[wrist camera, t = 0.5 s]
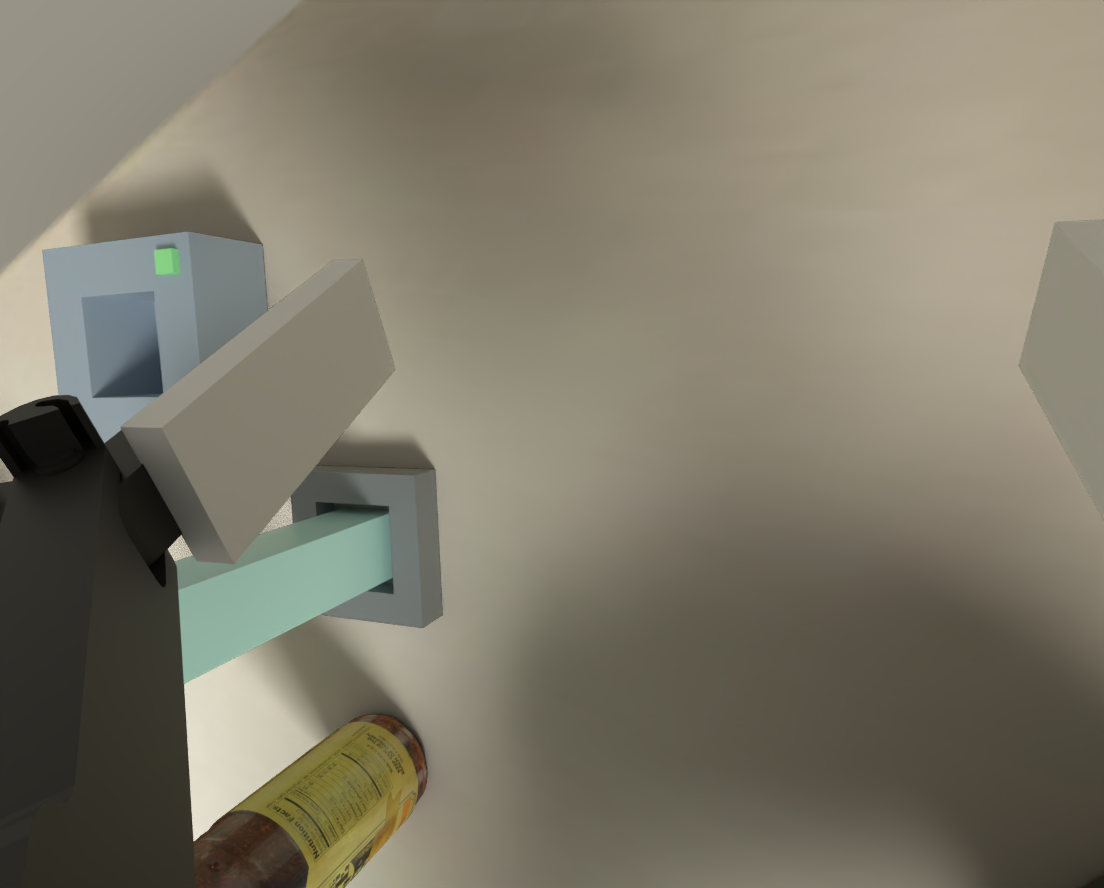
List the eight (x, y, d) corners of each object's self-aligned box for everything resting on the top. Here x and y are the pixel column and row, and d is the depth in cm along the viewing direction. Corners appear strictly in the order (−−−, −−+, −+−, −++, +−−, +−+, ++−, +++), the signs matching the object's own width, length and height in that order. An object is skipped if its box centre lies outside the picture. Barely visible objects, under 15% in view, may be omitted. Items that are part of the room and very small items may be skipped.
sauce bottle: (374, 821, 43) (23, 1175, 24) (327, 725, 43) (-51, 1002, 25) (457, 791, 40) (135, 1161, 22) (406, 690, 41) (49, 970, 22)
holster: (442, 615, 39) (422, 628, 37) (323, 600, 42) (299, 612, 40) (435, 469, 38) (414, 475, 36) (313, 465, 41) (288, 470, 39)
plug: (399, 574, 39) (146, 703, 25) (347, 568, 41) (77, 688, 26) (396, 510, 39) (135, 605, 25) (342, 507, 40) (66, 595, 26)
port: (277, 438, 42) (201, 450, 37) (142, 436, 46) (57, 446, 41) (262, 244, 41) (181, 230, 36) (124, 260, 45) (34, 249, 40)
